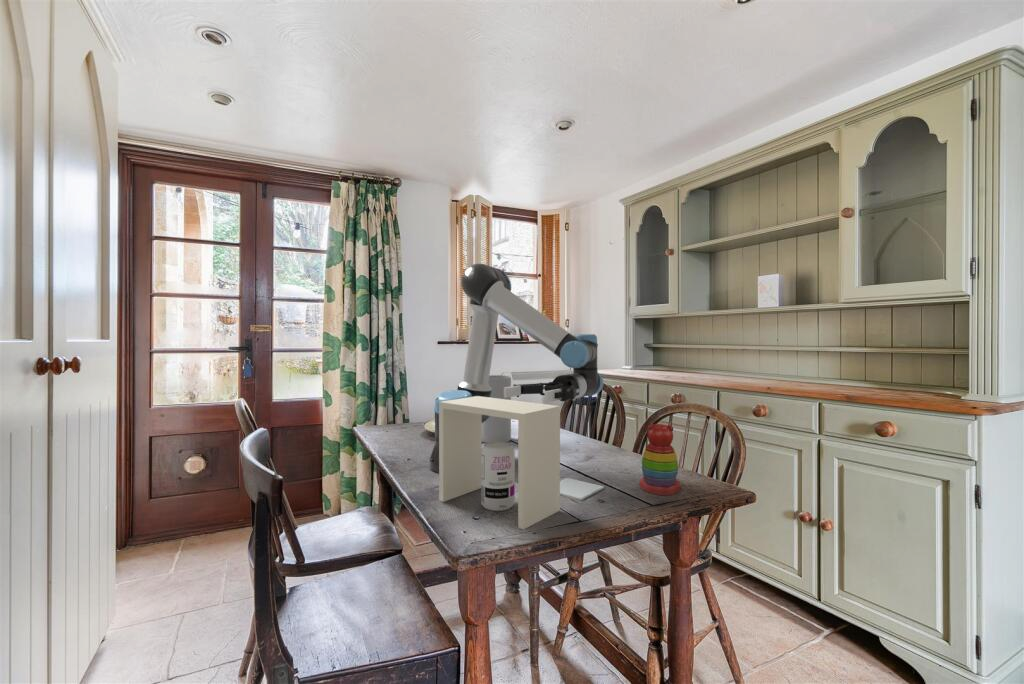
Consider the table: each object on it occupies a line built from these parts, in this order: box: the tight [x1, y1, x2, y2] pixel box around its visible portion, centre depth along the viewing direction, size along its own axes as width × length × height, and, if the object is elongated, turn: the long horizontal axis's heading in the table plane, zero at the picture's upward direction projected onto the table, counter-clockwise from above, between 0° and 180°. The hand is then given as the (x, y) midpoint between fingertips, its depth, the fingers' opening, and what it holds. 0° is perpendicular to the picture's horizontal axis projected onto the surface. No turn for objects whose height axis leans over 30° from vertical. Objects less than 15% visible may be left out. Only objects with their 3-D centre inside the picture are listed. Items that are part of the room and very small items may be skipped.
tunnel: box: [438, 396, 561, 530], centre depth 115 cm, size 14×27×25 cm, turn 51°
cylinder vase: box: [482, 374, 512, 444], centre depth 184 cm, size 12×12×25 cm
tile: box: [560, 477, 605, 501], centre depth 127 cm, size 12×12×1 cm
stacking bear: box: [639, 423, 682, 496], centre depth 127 cm, size 11×10×18 cm
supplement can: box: [480, 441, 516, 512], centre depth 115 cm, size 8×8×15 cm
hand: (524, 394), depth 123 cm, fingers open, 13 cm apart
